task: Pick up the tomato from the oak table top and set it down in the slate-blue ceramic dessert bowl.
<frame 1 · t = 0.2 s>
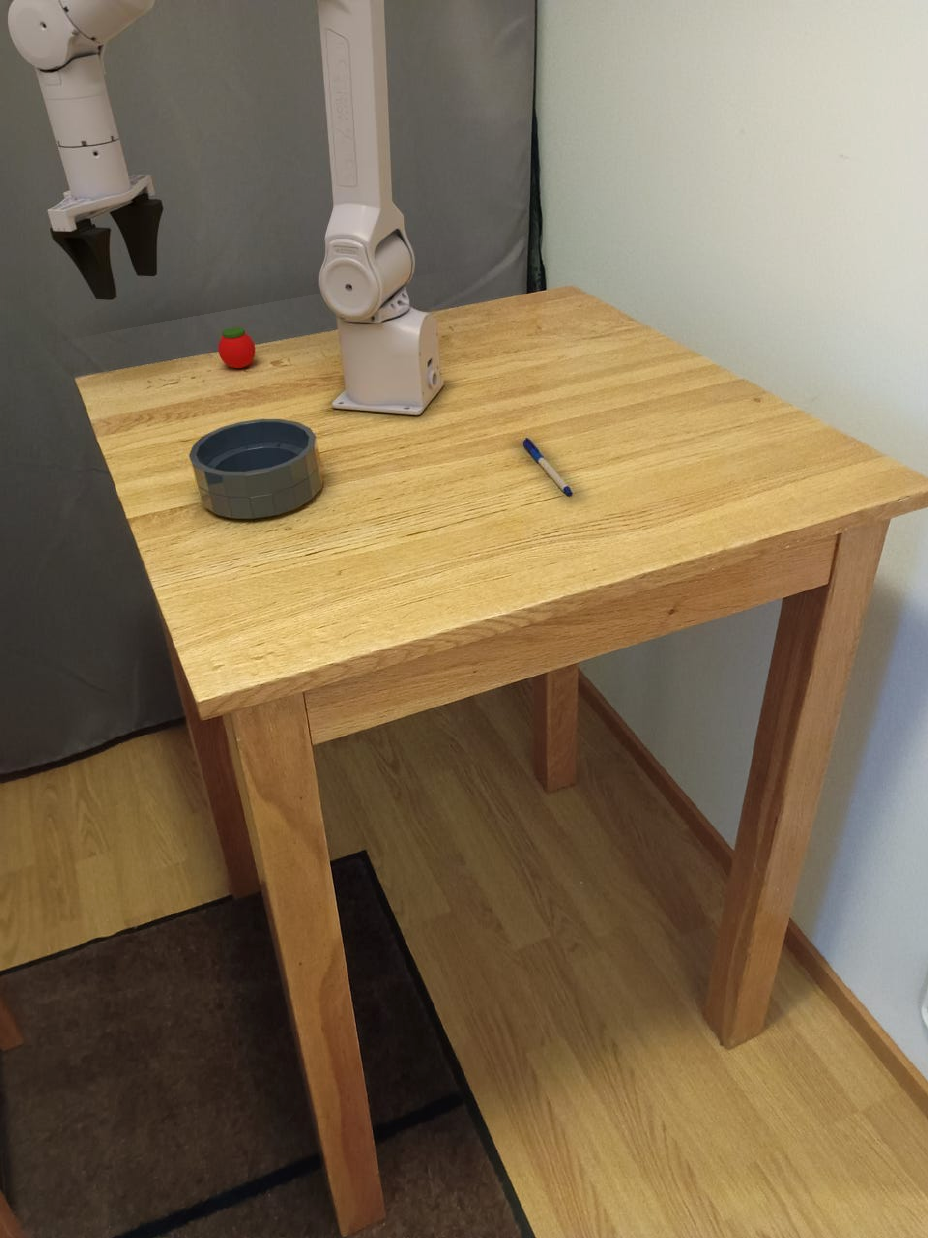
hand: (127, 286, 96), 10 cm above the table, tool pointing down, fingers open, 7 cm apart
ballpoint pen: (546, 472, 81), on the table
dessert bowl: (262, 492, 80), on the table
tomato: (240, 366, 104), on the table
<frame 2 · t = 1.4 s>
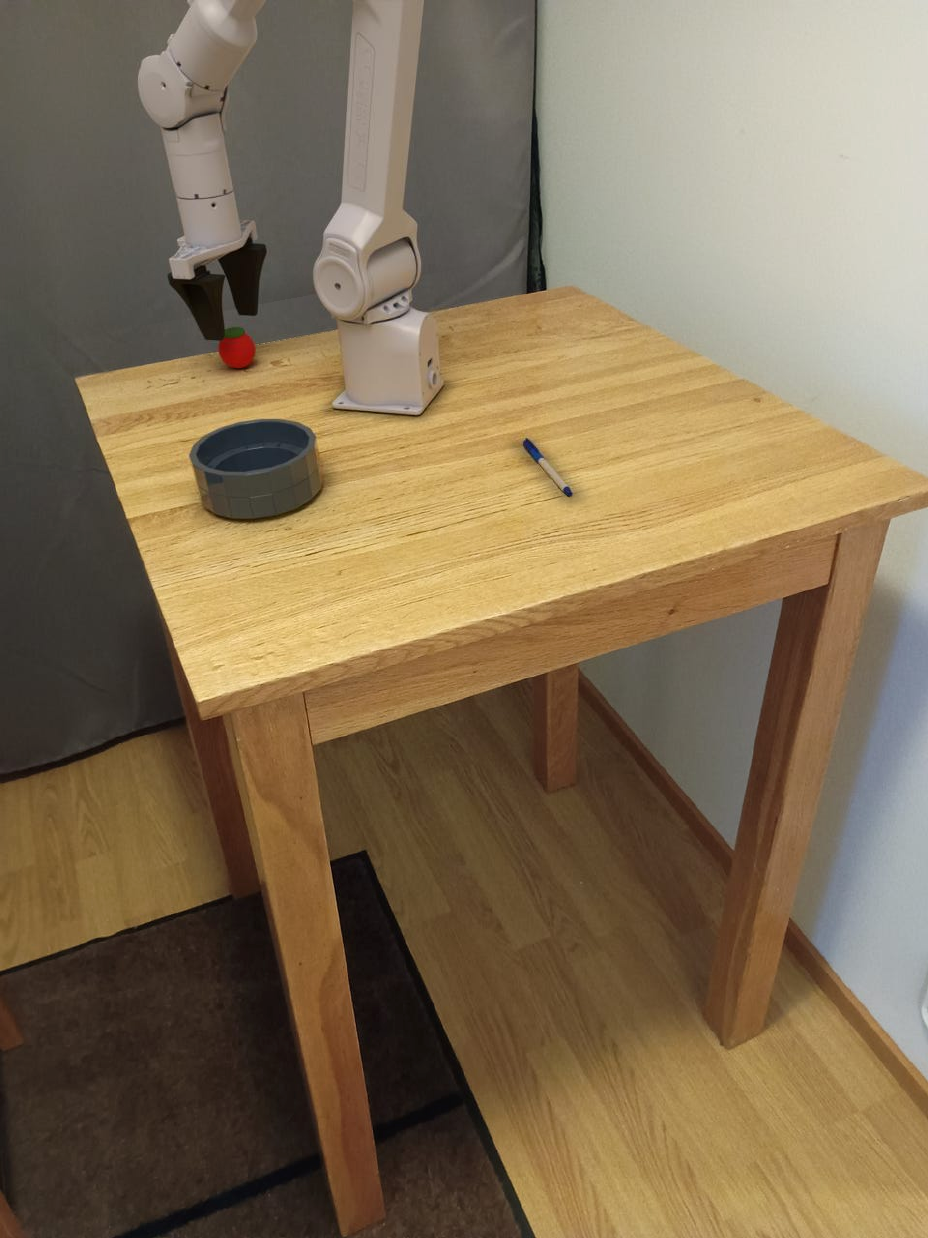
hand: (231, 326, 101), 5 cm above the table, tool pointing down, fingers open, 7 cm apart
nothing on the table moved.
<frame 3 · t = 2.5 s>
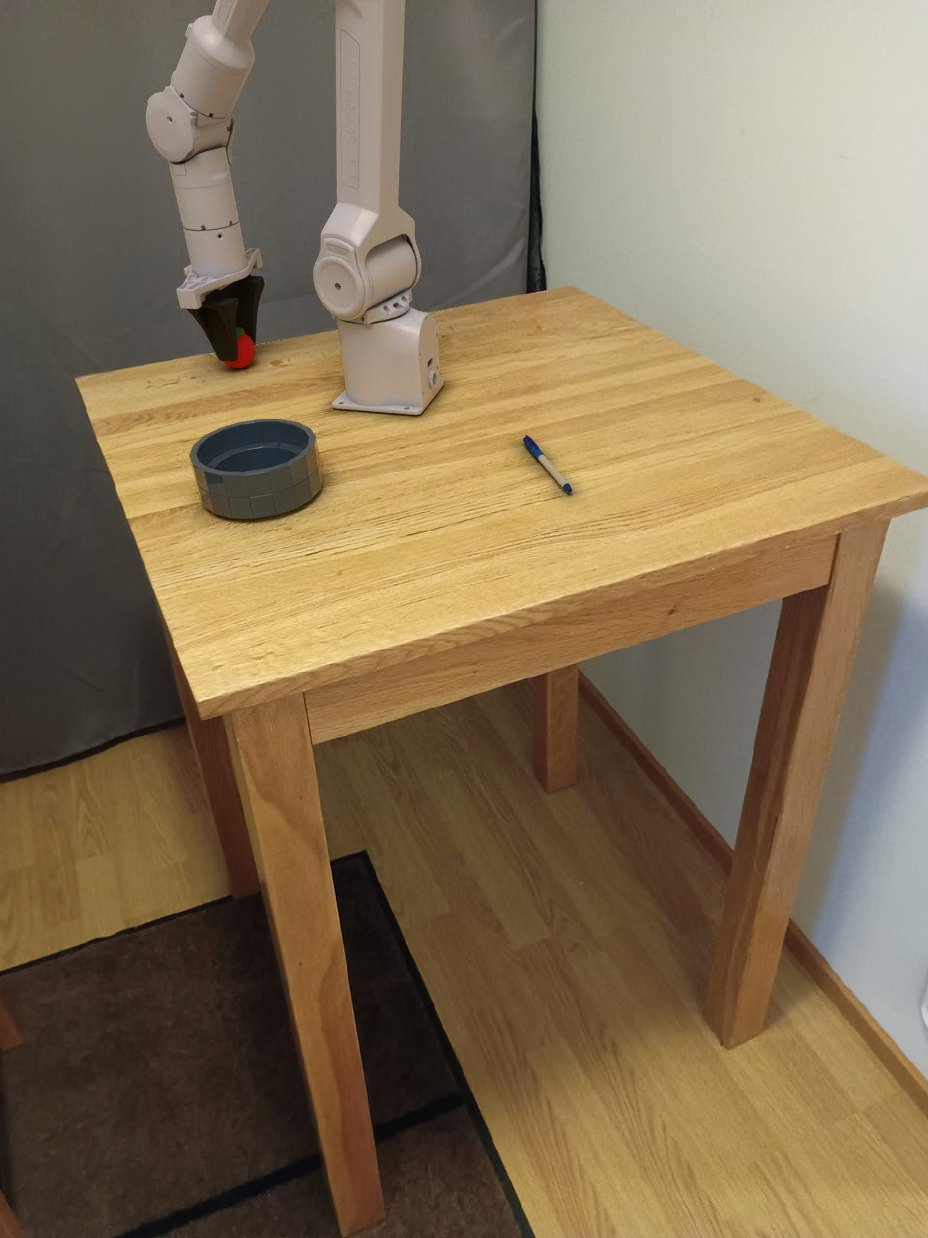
hand: (237, 352, 103), 2 cm above the table, tool pointing down, fingers closed on tomato, 3 cm apart
tomato: (240, 366, 104), on the table, touching gripper
everything else where it was.
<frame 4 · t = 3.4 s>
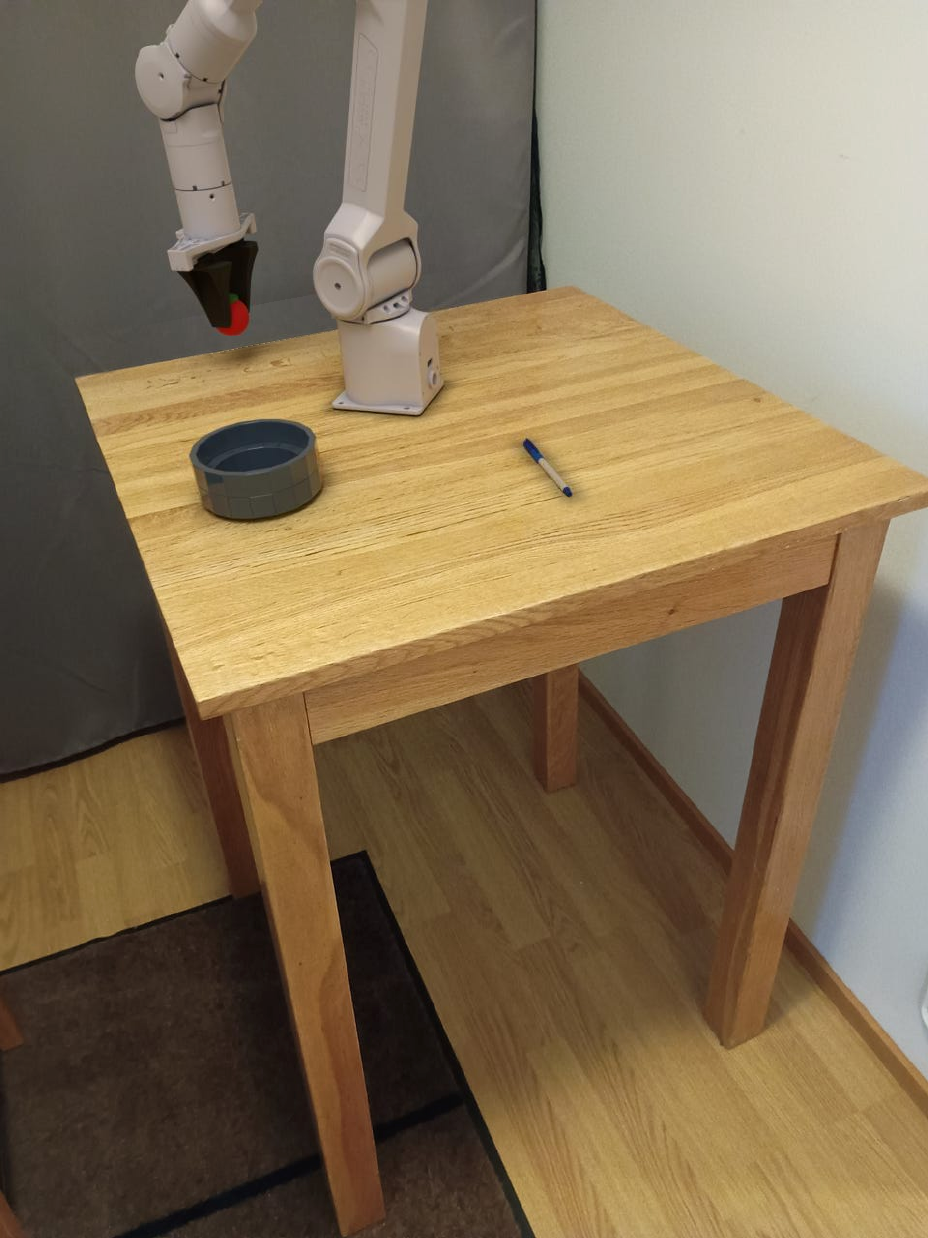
hand: (231, 319, 101), 5 cm above the table, tool pointing down, fingers closed on tomato, 3 cm apart
tomato: (234, 334, 102), point 4 cm above the table, touching gripper
everything else where it was.
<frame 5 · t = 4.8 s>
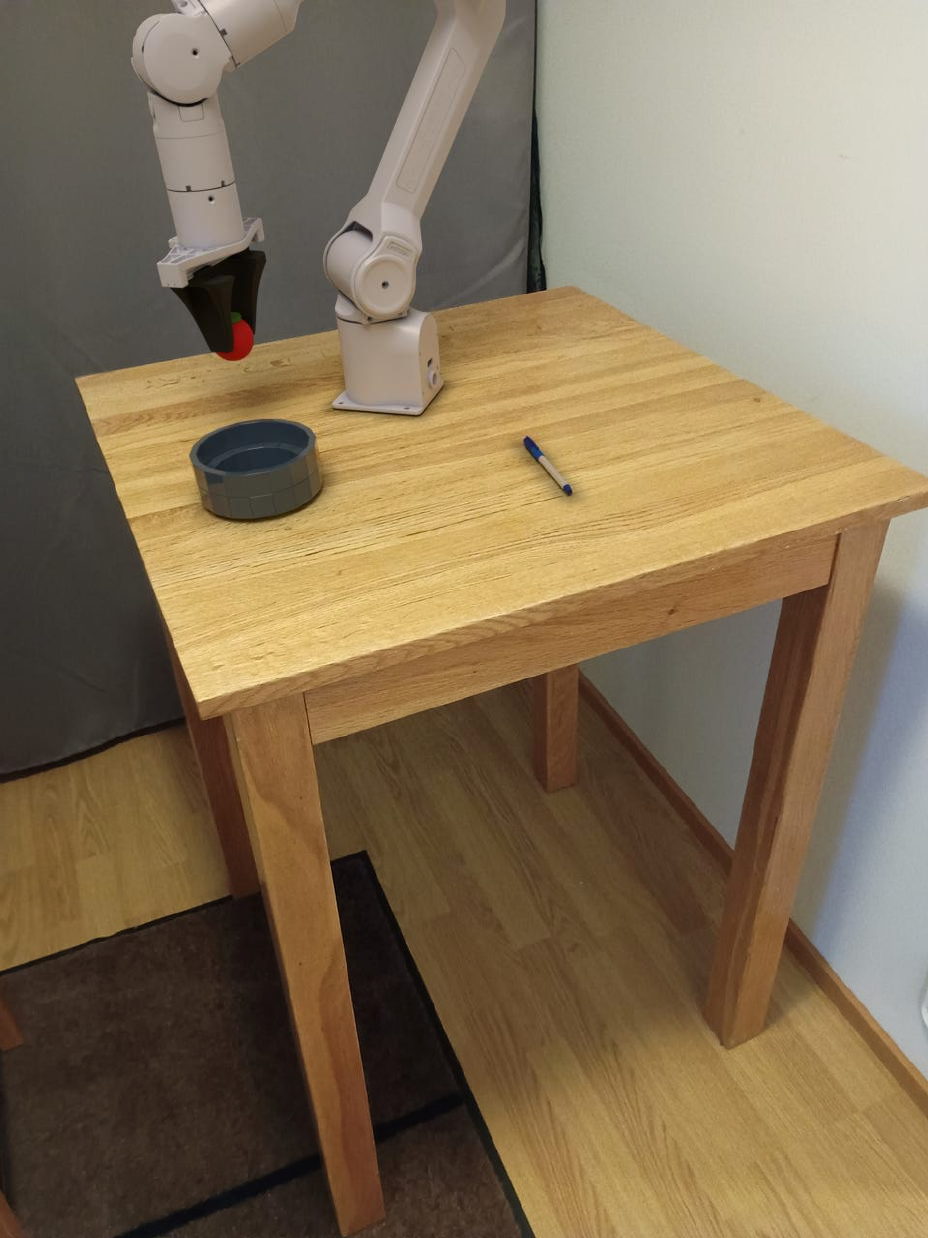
hand: (233, 342, 86), 8 cm above the table, tool pointing down, fingers closed on tomato, 3 cm apart
tomato: (236, 359, 87), point 7 cm above the table, touching gripper
everything else where it was.
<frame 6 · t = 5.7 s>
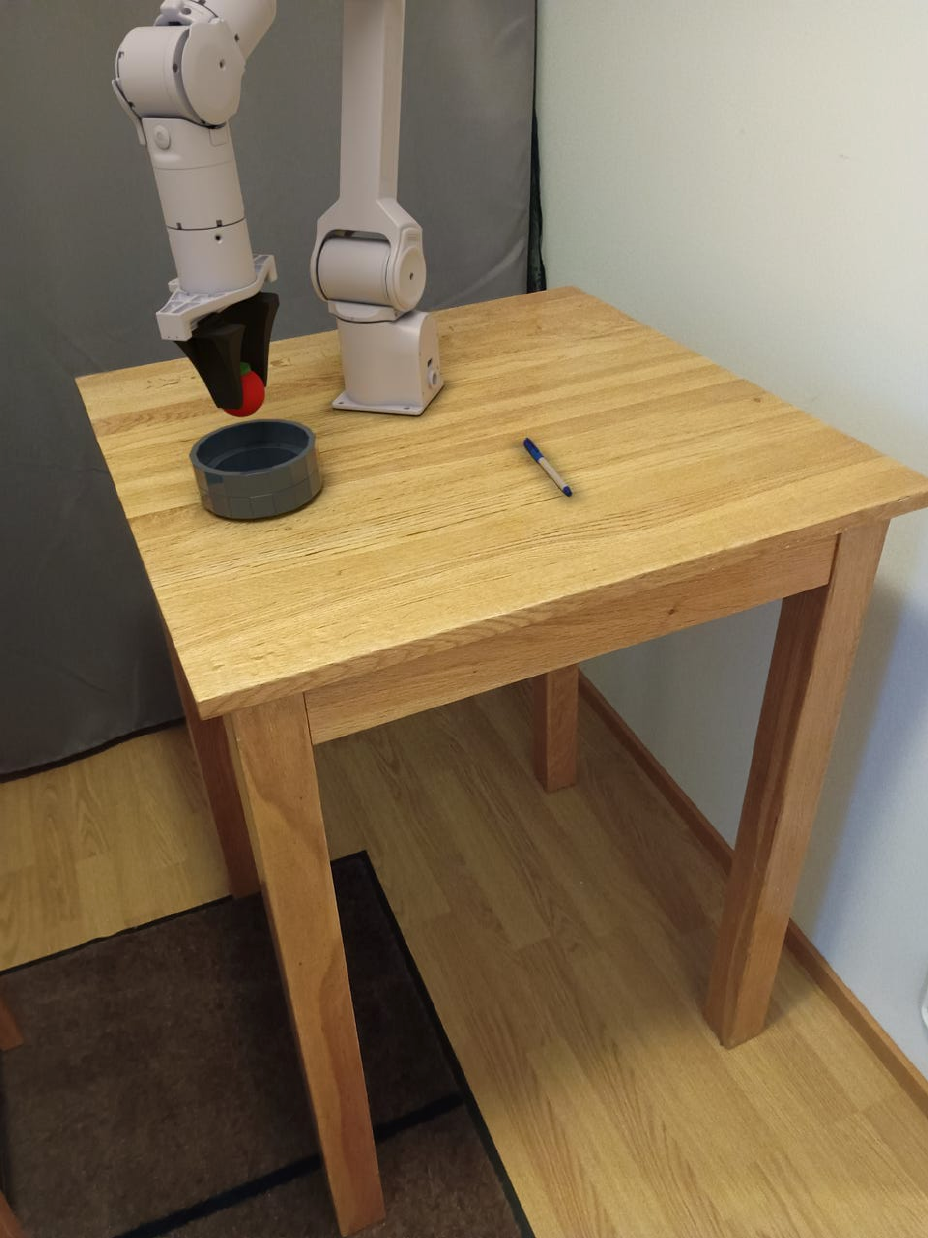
hand: (242, 396, 76), 8 cm above the table, tool pointing down, fingers closed on tomato, 3 cm apart
tomato: (244, 414, 76), point 7 cm above the table, touching gripper
everything else where it was.
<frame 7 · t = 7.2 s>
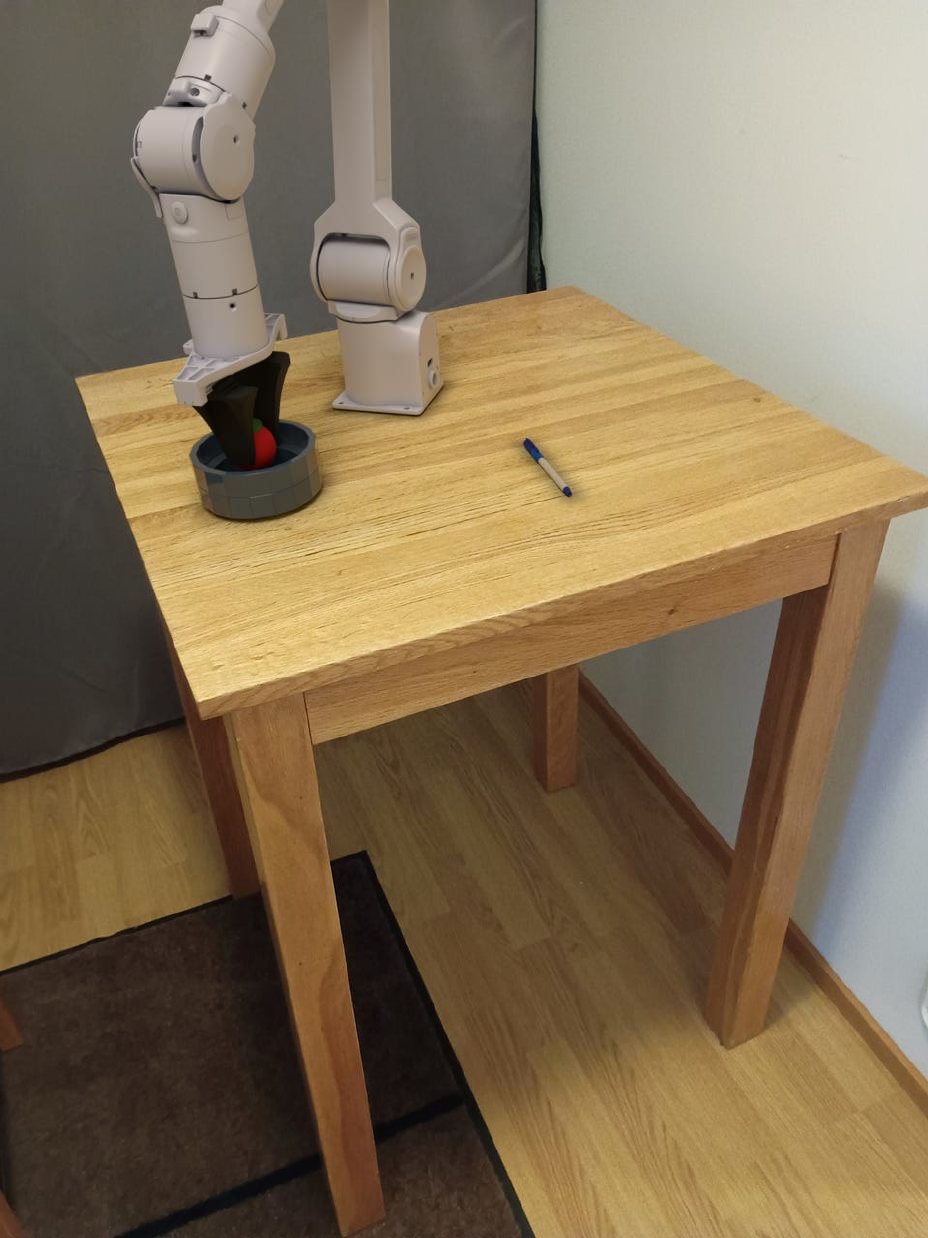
hand: (254, 451, 78), 4 cm above the table, tool pointing down, fingers closed on tomato, 3 cm apart
tomato: (256, 468, 78), point 2 cm above the table, touching gripper
everything else where it was.
when the fingers open (3 cm above the table, at t = 7.9 s): tomato stays where it is and tips over, resting on dessert bowl.
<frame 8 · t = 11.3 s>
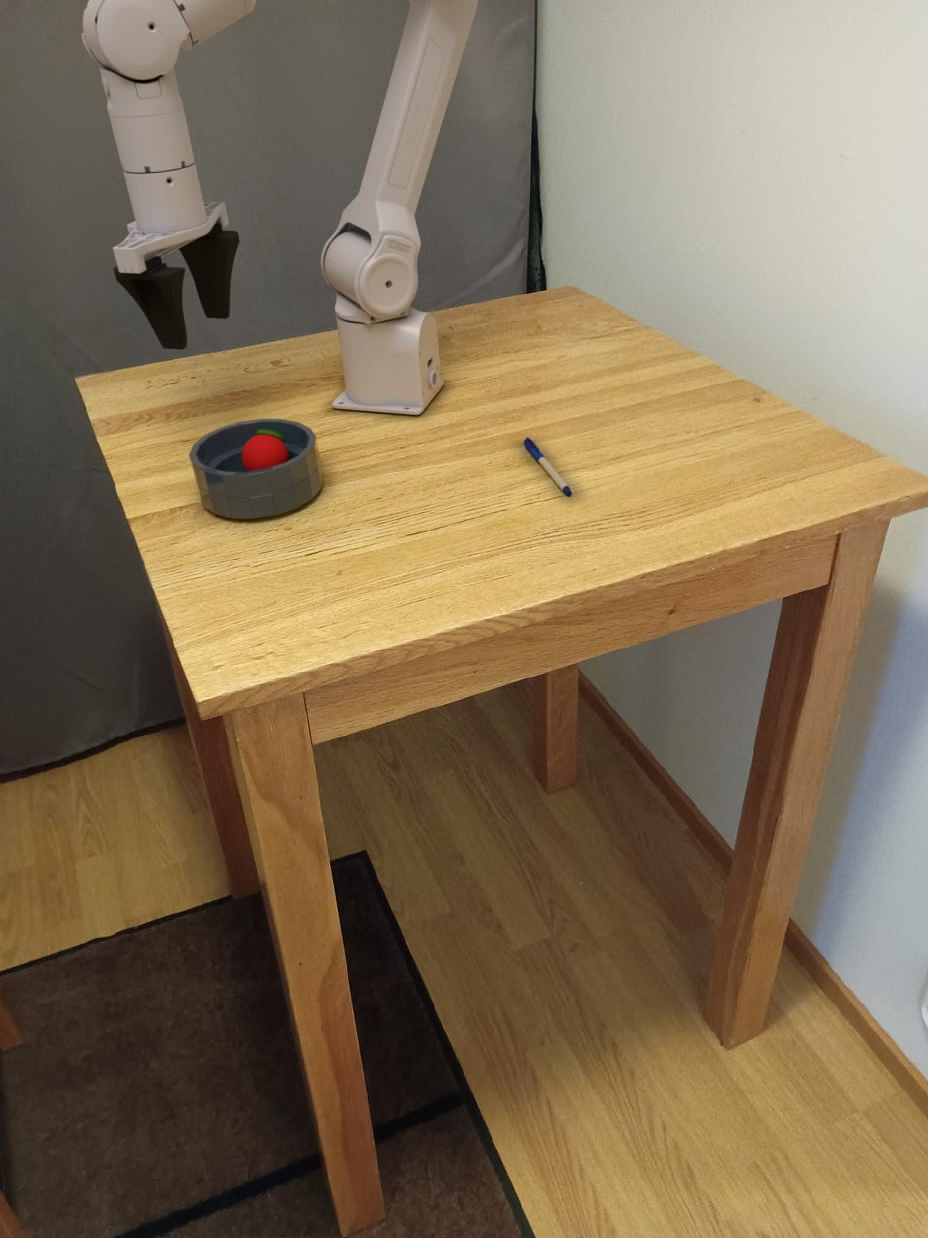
hand: (197, 331, 83), 10 cm above the table, tool pointing down, fingers open, 7 cm apart
tomato: (260, 479, 79), point 1 cm above the table, tilted 49°, touching dessert bowl
everything else where it was.
at the end: tomato inside the target area in the dessert bowl (0.2 cm from its centre), point 1.2 cm above the dessert bowl's base; the gripper is holding nothing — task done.
